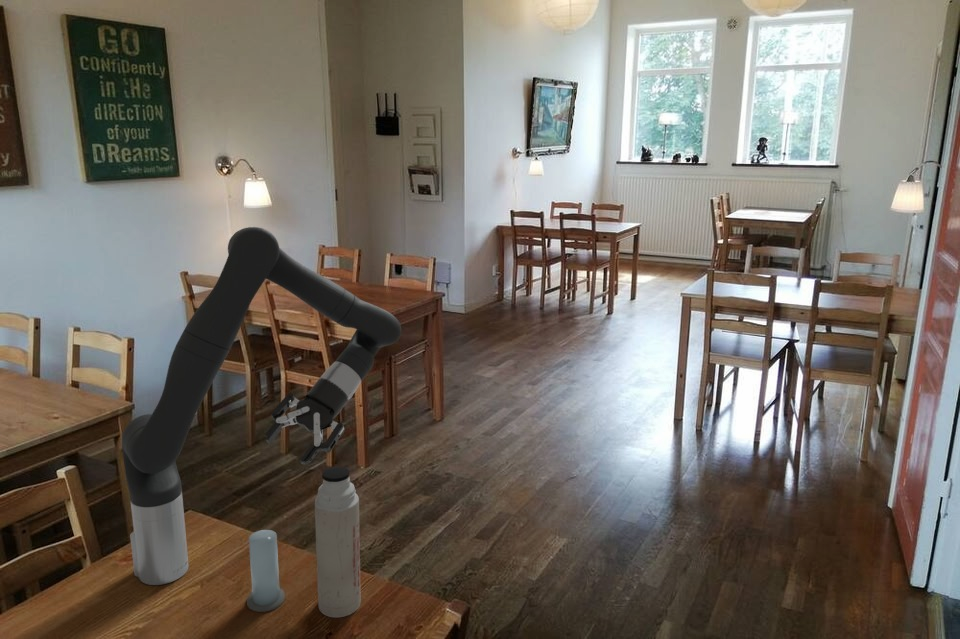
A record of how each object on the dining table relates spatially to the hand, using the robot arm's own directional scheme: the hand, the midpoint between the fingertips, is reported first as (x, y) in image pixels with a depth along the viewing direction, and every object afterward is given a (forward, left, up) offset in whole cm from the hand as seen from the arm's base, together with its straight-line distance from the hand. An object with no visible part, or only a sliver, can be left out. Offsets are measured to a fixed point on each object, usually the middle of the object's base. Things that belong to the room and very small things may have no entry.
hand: (284, 452), depth 133 cm
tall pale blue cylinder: (0, -9, -26) cm, 28 cm away
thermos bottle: (+14, -6, -27) cm, 31 cm away
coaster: (0, -9, -27) cm, 28 cm away
